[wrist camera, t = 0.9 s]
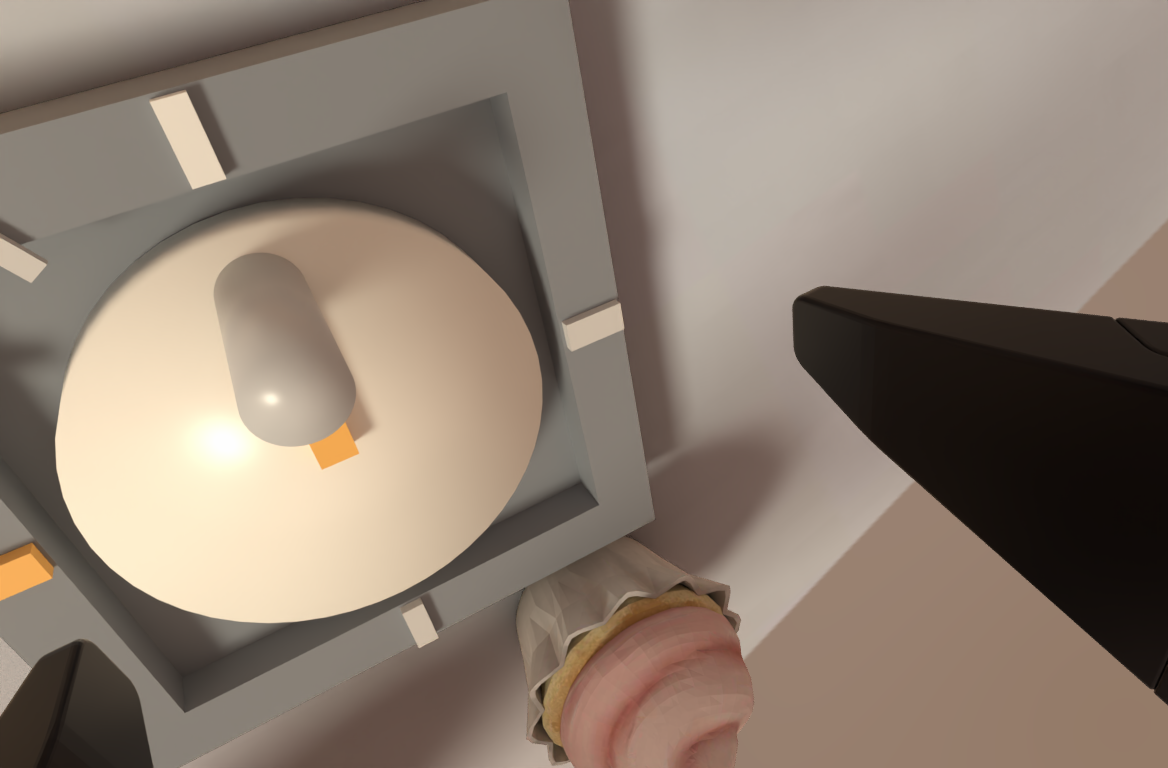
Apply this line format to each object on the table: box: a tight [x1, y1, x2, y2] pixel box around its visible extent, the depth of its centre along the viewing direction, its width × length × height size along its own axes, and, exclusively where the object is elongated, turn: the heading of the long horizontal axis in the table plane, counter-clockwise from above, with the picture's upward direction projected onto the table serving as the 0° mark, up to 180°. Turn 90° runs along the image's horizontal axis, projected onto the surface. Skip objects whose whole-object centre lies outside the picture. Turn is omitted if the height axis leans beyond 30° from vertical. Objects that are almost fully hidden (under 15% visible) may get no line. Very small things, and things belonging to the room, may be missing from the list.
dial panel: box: [0, 0, 655, 768], centre depth 21 cm, size 18×18×3 cm
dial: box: [55, 198, 543, 623], centre depth 19 cm, size 12×12×7 cm
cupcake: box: [516, 536, 754, 768], centre depth 28 cm, size 9×9×10 cm
